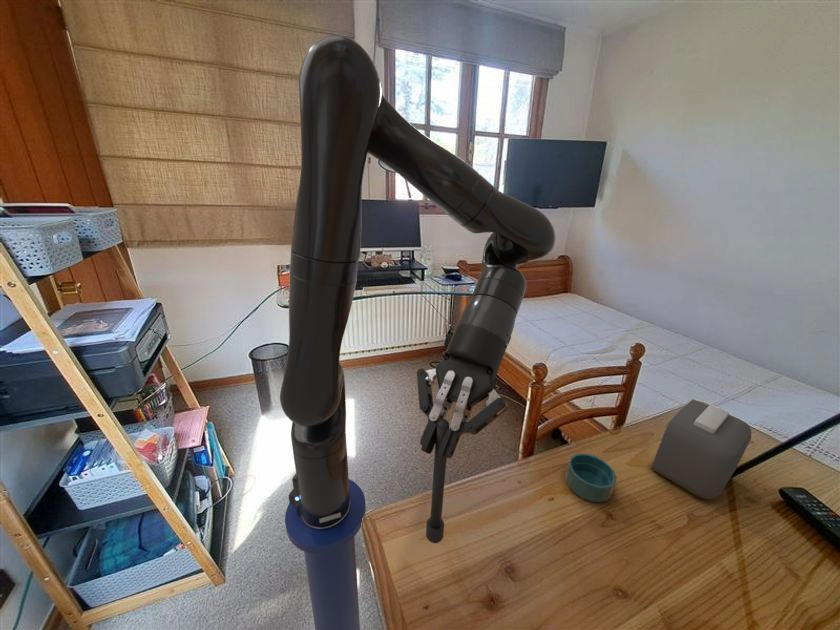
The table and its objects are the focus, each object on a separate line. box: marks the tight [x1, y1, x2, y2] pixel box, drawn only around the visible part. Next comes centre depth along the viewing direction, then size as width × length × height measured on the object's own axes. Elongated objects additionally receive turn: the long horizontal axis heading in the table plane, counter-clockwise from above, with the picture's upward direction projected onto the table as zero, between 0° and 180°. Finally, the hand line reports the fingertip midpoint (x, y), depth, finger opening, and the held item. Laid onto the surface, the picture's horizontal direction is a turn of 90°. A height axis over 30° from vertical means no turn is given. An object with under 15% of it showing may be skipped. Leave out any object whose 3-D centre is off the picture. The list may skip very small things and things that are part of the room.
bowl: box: [564, 452, 617, 503], centre depth 72 cm, size 9×9×4 cm
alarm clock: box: [651, 399, 752, 500], centre depth 74 cm, size 16×11×16 cm
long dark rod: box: [425, 418, 450, 544], centre depth 47 cm, size 3×3×21 cm
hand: (433, 455), depth 43 cm, fingers closed on long dark rod
